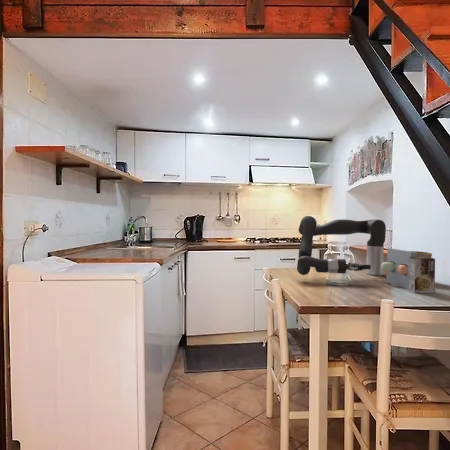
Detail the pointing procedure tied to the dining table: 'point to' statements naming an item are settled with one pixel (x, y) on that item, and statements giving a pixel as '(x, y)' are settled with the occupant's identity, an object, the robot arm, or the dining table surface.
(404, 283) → the button panel
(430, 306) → the dining table surface
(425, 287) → the coffee box
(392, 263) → the sage-green button
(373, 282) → the dining table surface
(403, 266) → the terracotta button
